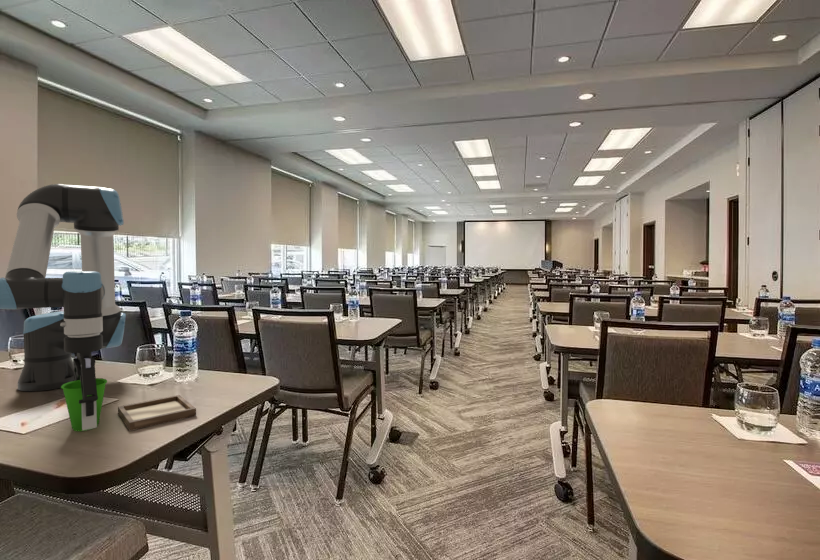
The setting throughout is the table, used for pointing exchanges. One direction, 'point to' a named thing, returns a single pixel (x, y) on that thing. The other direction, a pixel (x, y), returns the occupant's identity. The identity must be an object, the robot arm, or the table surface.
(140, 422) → the tray
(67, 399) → the cup
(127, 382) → the table surface
